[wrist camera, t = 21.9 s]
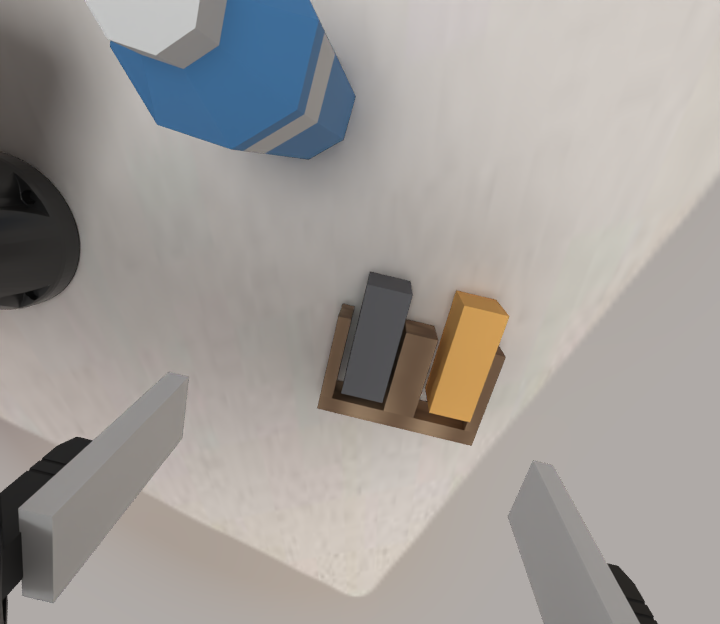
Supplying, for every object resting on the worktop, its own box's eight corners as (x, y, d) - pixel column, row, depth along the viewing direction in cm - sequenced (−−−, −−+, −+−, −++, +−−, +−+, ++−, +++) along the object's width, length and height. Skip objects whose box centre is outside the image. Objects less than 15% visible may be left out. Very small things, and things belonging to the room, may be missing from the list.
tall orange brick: (425, 386, 45) (429, 412, 40) (456, 289, 41) (464, 305, 36) (461, 395, 45) (470, 422, 40) (495, 299, 41) (509, 316, 36)
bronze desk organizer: (323, 389, 45) (317, 408, 42) (343, 303, 42) (338, 316, 39) (465, 424, 46) (471, 445, 42) (495, 341, 42) (505, 357, 39)
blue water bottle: (360, 154, 38) (308, 128, 14) (258, 164, 38) (46, 154, 15) (350, 33, 35) (264, -259, 11) (240, 47, 36) (-59, -198, 12)
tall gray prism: (346, 369, 45) (341, 393, 40) (370, 271, 41) (367, 284, 36) (383, 378, 45) (382, 403, 40) (410, 280, 41) (412, 295, 36)
